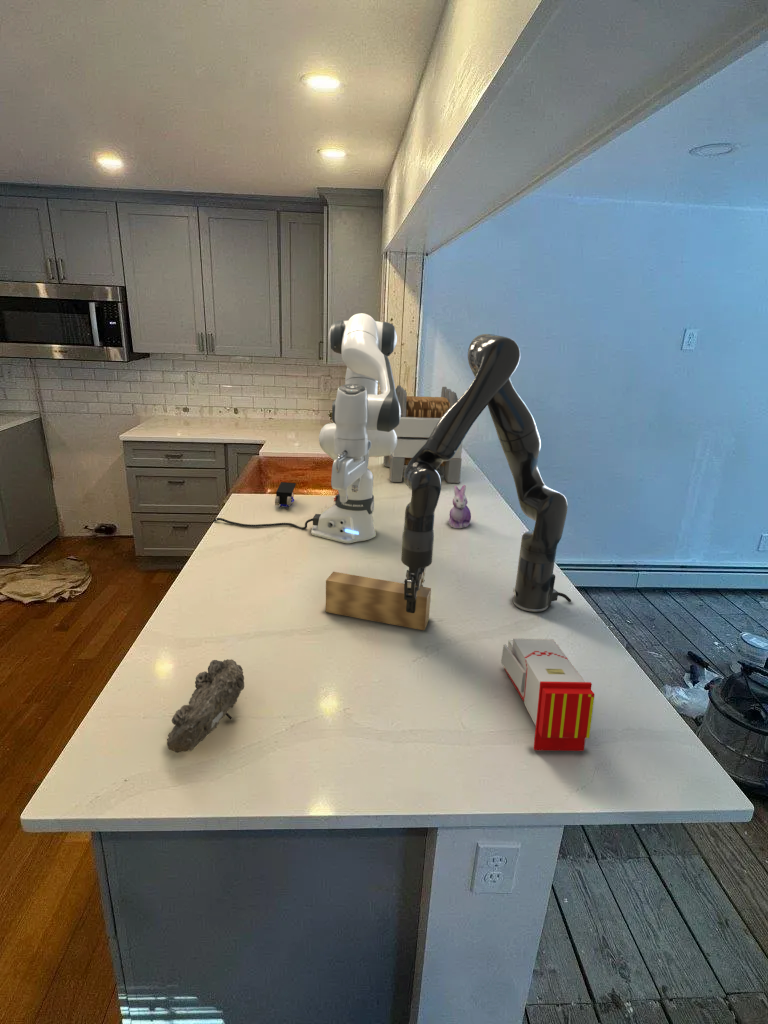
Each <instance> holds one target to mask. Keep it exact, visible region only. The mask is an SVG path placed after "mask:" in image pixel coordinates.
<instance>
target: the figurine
mask: <svg viewBox="0 0 768 1024" xmlns="http://www.w3.org/2000/svg"><path fill="white" fill-rule="evenodd" d="M466 489H467V485H465V484H463V485H462V486H461V488H460V489H459V488H458V486H457V485H454V486H453V491H454V492H453V493H454V496H453V498H452V505H453V506H452V508H450V510H449V515H448V516H449V518H448V524H449V526H450V527H451V528H454V529H462V528H467V527H469V526H470V523H471V519H472V513H471V510H470V508H469V507H468V503H469V502H468V498H467V496H466Z"/></svg>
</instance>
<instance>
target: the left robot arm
mask: <svg viewBox="0 0 768 1024" xmlns="http://www.w3.org/2000/svg"><path fill="white" fill-rule="evenodd" d="M327 338H328V344H329V347H330V350H332V352H333V353H336V354H339V355H341V360H342V362H343V364H344V365H345V367H346V372H345V378H344V384H342V385H340V386H339V387H338V388H337V391H336V396H335V399H334V400H333V401H332V402H331V403H332V404H331V407H332V408H331V413H332V414H331V421H332V422H330V423H325V424H324V425H323V426H322V427H321V429H320V431H319V434H318V442H319V446H320V448H321V450H322V451H323V452H324V453H325V454H327V455H328V456H329V457H330V459H332V461H333V463H332V466H331V479H330V480H331V481H330V485H331V488H332V490H337V494H336V495H335V496H334V497H333V502H334V504H333V505H331V506H329V507H328V508H326V509H325V510H323V512H321V513H315V514H314V515H313V517H312V518H309V519H307V520H306V521H305V522H304V526H303V527H301V526H299V525H297V524H294V523H291V522H275V523H274V522H273V523H261V524H260V523H259V524H250V523H249V524H247V523H241V522H235V521H231V520H228V519H225V518H222V517H217V518H213V520H212V523H215V522H217V521H221V522H224V523H227V524H229V525H236V526H239V527H245V528H246V527H247V528H262V527H263V528H264V527H275V526H276V527H277V526H291V527H293V528H296V529H299V530H306V529H307V528H308V524H309V523H310V522H312V528H311V530H310V533H311V536H315V537H319V538H323V539H326V540H330V541H336V542H339V543H343V544H352V543H357V542H365V541H368V540H372V539H373V538H375V537H376V535H377V532H376V528H375V523H374V513H373V512H374V509H375V496H374V474H373V472H372V471H371V469H369V459H370V458H382V457H384V456H388V455H391V454H392V453H393V452H394V450H395V448H396V446H397V435H396V433H395V431H394V428H396V427H397V426H398V425H399V422H400V419H401V408H400V404H399V402H398V398H397V394H396V386H395V385H396V384H395V380H394V375H393V370H392V366H391V363H390V360H389V357H390V355H392V353H394V350H395V348H396V346H397V343H398V334H397V330H396V327H395V325H394V324H393V323H390V322H387V321H383V322H382V321H377V320H375V319H374V318H373V317H372V316H371V315H369V314H367V313H364V312H363V313H362V312H360V313H355V314H353V315H352V316H351V317H350V318H348V320H344V319H341V320H340V319H339V320H335V321H334V322H333V323H332V324H331V325H330V327H329V331H328V337H327ZM378 387H379V388H380V394H379V393H378V390H379V388H378ZM216 519H217V520H216Z"/></svg>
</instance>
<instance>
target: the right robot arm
mask: <svg viewBox="0 0 768 1024" xmlns="http://www.w3.org/2000/svg"><path fill="white" fill-rule="evenodd" d="M520 360H521V350H520V347H519V345H518V343H517V342H516V341H515V340H514V339H512V338H511V337H507V336H504V335H497V334H493V333H482V334H479V335H476V336H475V337H474V338H473V339H472V340H471V343H470V344H469V347H468V349H467V361H468V365H469V368H470V371H471V373H472V375H473V377H474V379H473V381H472V382H471V384H470V385H469V386H468V388H467V389H466V390H465V392H464V393H463V394H462V395H461V396H460V397H459V398H458V400H457V401H456V402H455V403H454V404H453V405H452V406H451V407H450V408H449V409H448V410H447V411H446V412H445V413H444V415H443V416H442V417H441V418H440V420H439V421H438V423H437V425H436V426H435V428H434V430H433V431H432V433H431V435H430V437H429V438H428V440H427V442H426V443H425V445H424V446H423V447H422V448H421V449H420V450H419V451H418V452H417V453H416V454H415V456H414V457H413V458H412V459H411V460H410V462H409V463H408V465H406V467H405V468H404V469H405V470H404V471H403V480H404V483H405V485H406V486H407V487H408V488H409V489H410V490H411V497H410V502H408V504H406V506H405V510H404V524H403V531H402V540H401V556H400V561H401V563H402V564H403V565H404V566H407V567H408V569H407V570H406V573H405V577H406V578H405V579H404V580H403V583H404V600H407V604H406V612H409V613H415V609H416V599H417V591H419V590H420V586H422V587H424V583H425V582H426V581H425V577H426V568H427V567H430V566H431V564H432V563H433V555H434V553H433V552H434V541H435V533H434V526H435V512H436V508H437V506H438V503H439V499H440V497H441V496H440V495H441V492H442V477H441V475H440V474H439V473H440V472H438V471H437V470H438V467H439V466H440V464H441V463H442V462H443V461H449V460H450V459H451V458H452V457H453V456H454V454H455V453H456V452H455V451H457V449H458V448H459V446H460V444H461V443H462V441H463V442H464V439H465V438H466V436H467V434H468V433H469V432H470V430H471V428H472V427H473V425H474V423H475V422H476V421H477V419H478V418H479V416H480V415H481V414H482V413H483V411H484V410H485V409H486V407H487V408H488V411H489V415H490V418H491V420H492V423H493V426H494V428H495V431H496V435H497V437H498V440H499V443H500V447H501V450H502V451H503V454H504V456H505V459H506V462H507V464H508V467H509V470H510V472H511V475H512V478H513V482H514V487H515V491H516V496H517V499H518V503H519V506H520V509H521V511H522V513H523V514H524V515H525V516H526V517H528V518H529V519H531V520H532V521H535V523H534V526H533V527H534V528H533V530H529V531H528V530H527V531H525V532H524V533H523V534H522V535H521V541H520V548H519V549H520V550H519V557H518V564H517V570H516V578H515V585H514V588H512V592H513V598H512V603H513V605H514V606H515V607H516V608H518V609H519V610H521V611H522V610H523V611H526V612H530V613H540V612H544V611H546V610H547V609H548V608H551V606H552V602H556V601H558V597H562V598H564V599H565V600H566V601H567V602H568V603H572V599H571V598H570V597H569V596H568V595H567V594H566V593H562V592H560V591H558V590H556V589H555V582H556V574H555V573H554V568H555V562H556V556H557V549H558V545H559V543H560V541H561V539H562V537H563V534H564V528H565V525H566V520H567V516H568V505H569V504H568V499H567V497H566V496H565V495H564V494H563V493H561V492H559V491H557V490H555V489H552V488H550V487H549V486H547V485H546V484H545V482H544V480H543V478H542V475H541V472H540V470H539V465H538V464H539V463H538V461H539V458H540V454H541V449H542V441H541V436H540V433H539V431H538V427H537V424H536V421H535V419H534V416H533V415H532V413H531V411H530V409H529V408H528V406H527V405H526V403H525V402H524V400H523V399H522V398H521V396H520V395H519V394H518V393H517V391H516V389H515V388H514V385H513V384H512V383H513V382H512V381H511V377H512V375H513V374H514V373H515V372H516V370H517V368H518V366H519V363H520ZM462 444H463V443H462ZM415 585H416V586H417V587H415ZM409 593H410V594H409ZM411 594H412V595H411Z"/></svg>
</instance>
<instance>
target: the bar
mask: <svg viewBox="0 0 768 1024" xmlns="http://www.w3.org/2000/svg"><path fill="white" fill-rule="evenodd" d="M415 587H417V586H416V585H415ZM409 594H410V593H409ZM411 595H412V594H411ZM431 598H432V587H428V586H423V587H422V586H420V590H419V591H417V599H416V609H415V613H409V612H406V604H407V600H404V582H398V581H391V580H385V579H379V578H373V577H367V576H362V575H355V574H349V573H344V572H338V571H332V572H331V574H330V575H329V576H328V577H327V578H326V580H325V613H328V614H329V613H330V614H334V615H339V616H346V617H351V618H355V619H360V620H365V621H372V622H378V623H383V624H389V625H393V626H399V627H403V628H408V629H415V630H420V631H425V630H426V628H427V626H428V623H429V620H430V611H431V610H430V609H431Z"/></svg>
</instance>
